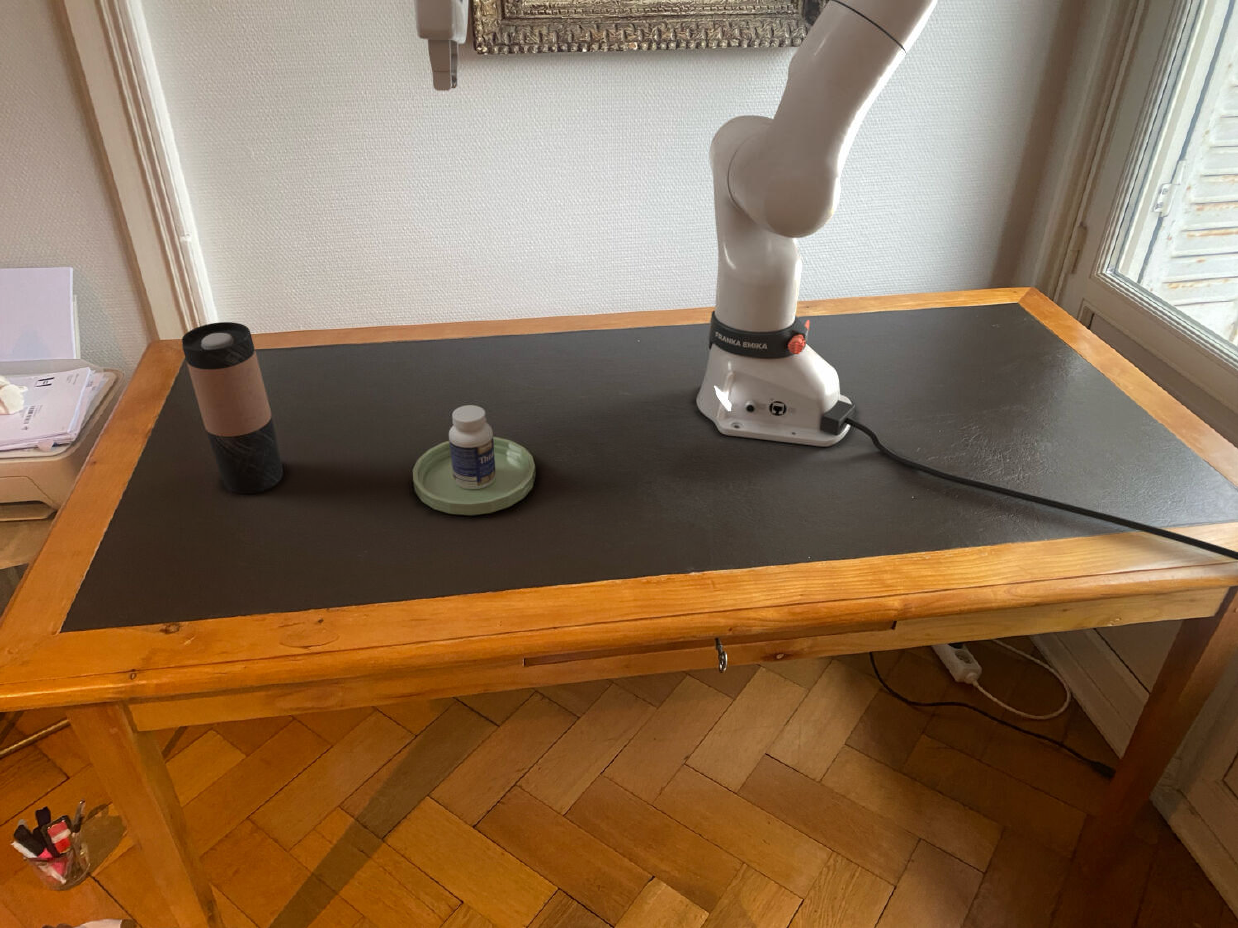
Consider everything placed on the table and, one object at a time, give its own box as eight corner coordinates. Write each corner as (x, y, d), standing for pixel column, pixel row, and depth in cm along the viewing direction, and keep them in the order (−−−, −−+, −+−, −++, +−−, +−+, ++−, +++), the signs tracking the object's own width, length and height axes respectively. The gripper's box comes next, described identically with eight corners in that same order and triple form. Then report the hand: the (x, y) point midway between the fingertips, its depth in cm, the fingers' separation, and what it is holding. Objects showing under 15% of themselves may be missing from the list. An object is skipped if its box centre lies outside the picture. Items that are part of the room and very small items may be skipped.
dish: (555, 464, 116) (554, 451, 115) (497, 529, 105) (496, 516, 104) (455, 438, 121) (454, 426, 120) (390, 498, 110) (388, 485, 108)
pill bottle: (488, 493, 110) (482, 427, 105) (447, 488, 111) (439, 421, 106) (501, 469, 115) (496, 404, 109) (462, 464, 115) (455, 399, 110)
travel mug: (297, 468, 115) (264, 327, 104) (259, 500, 109) (220, 355, 98) (248, 456, 117) (211, 317, 106) (208, 488, 111) (164, 344, 100)
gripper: (463, -73, 80) (471, 92, 86) (474, -47, 99) (480, 88, 104) (392, -75, 80) (405, 91, 85) (416, -49, 98) (425, 87, 104)
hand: (446, 89), depth 95 cm, fingers open, 8 cm apart
